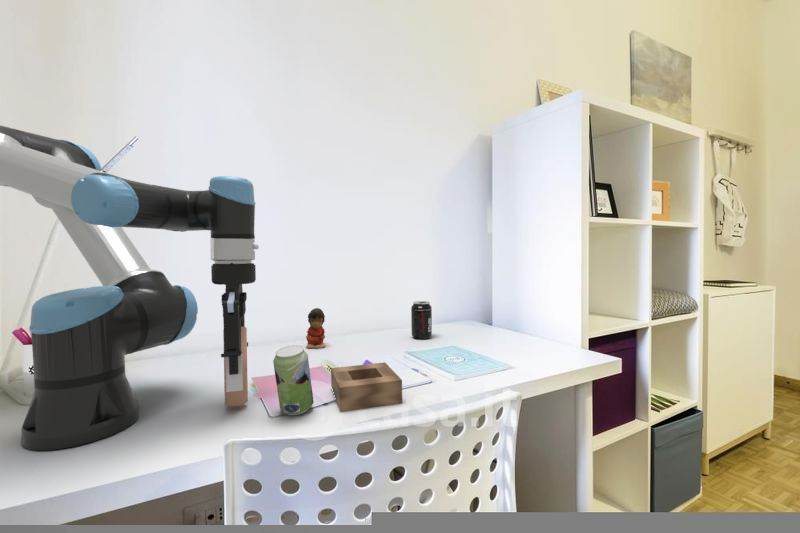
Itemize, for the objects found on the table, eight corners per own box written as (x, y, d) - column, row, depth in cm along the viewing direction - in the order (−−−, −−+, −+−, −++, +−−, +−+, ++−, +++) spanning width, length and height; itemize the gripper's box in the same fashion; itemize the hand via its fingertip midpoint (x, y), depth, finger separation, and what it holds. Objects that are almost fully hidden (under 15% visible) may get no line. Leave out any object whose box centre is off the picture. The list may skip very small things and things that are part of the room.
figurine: (302, 346, 116) (301, 308, 115) (318, 343, 120) (317, 306, 119) (312, 350, 111) (311, 310, 111) (328, 347, 115) (328, 308, 114)
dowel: (223, 407, 68) (221, 331, 68) (226, 399, 72) (224, 327, 72) (246, 404, 70) (245, 330, 69) (248, 396, 73) (247, 325, 73)
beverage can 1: (319, 405, 72) (317, 343, 71) (300, 422, 65) (299, 353, 64) (289, 402, 73) (287, 341, 73) (267, 419, 66) (266, 351, 65)
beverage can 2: (435, 338, 125) (435, 302, 124) (418, 341, 121) (418, 304, 121) (424, 334, 131) (424, 300, 130) (407, 337, 127) (407, 301, 127)
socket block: (340, 411, 69) (339, 387, 69) (331, 388, 80) (331, 368, 80) (402, 402, 72) (401, 380, 72) (385, 382, 84) (385, 362, 84)
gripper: (252, 263, 63) (254, 400, 64) (257, 260, 79) (259, 370, 80) (202, 264, 60) (205, 406, 62) (218, 260, 77) (220, 373, 78)
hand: (236, 385), depth 71 cm, fingers closed on dowel, 4 cm apart
